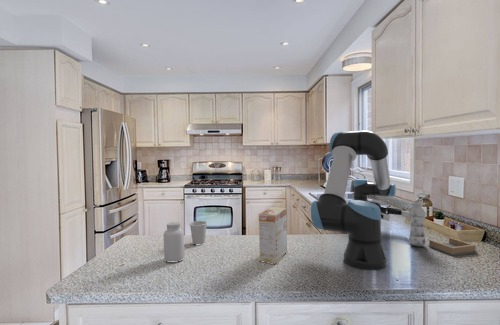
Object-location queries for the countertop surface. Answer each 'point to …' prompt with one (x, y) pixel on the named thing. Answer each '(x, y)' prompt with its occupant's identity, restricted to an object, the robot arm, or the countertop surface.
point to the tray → (454, 247)
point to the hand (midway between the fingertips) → (400, 216)
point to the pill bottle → (173, 242)
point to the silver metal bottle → (417, 225)
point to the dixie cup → (198, 231)
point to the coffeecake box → (272, 234)
